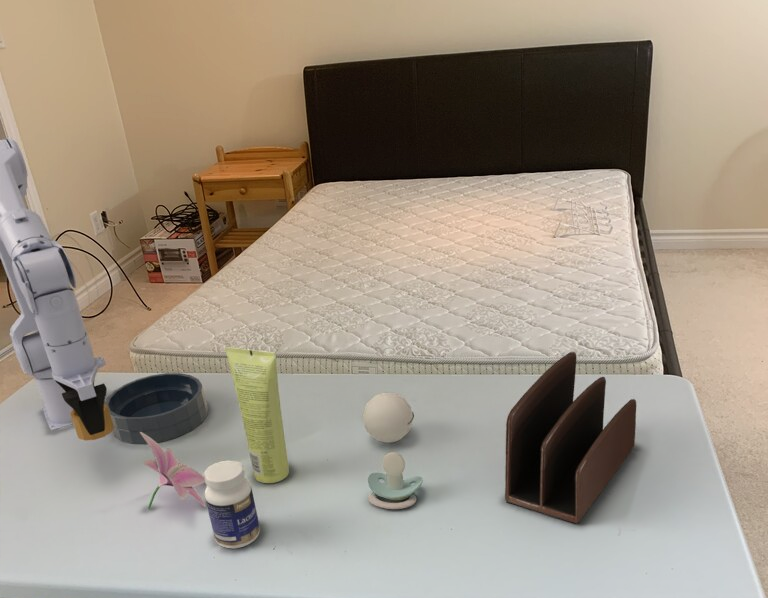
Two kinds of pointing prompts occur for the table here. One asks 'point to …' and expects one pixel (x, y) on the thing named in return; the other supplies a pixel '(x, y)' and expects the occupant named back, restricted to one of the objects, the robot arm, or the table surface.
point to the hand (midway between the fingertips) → (93, 424)
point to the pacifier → (393, 484)
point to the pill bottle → (231, 505)
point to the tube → (260, 411)
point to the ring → (82, 430)
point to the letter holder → (564, 444)
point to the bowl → (157, 407)
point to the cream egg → (388, 417)
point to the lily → (173, 472)
